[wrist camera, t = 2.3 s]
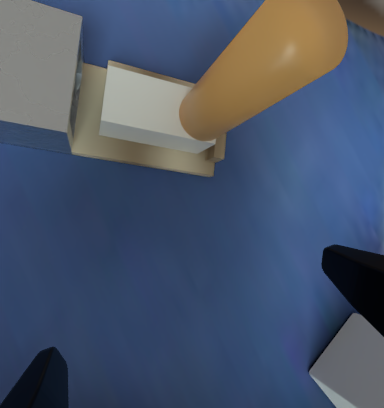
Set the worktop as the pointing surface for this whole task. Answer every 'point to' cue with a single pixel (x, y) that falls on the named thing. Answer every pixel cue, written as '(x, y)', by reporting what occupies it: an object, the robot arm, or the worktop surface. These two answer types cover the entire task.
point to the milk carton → (353, 366)
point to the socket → (39, 75)
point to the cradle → (127, 150)
